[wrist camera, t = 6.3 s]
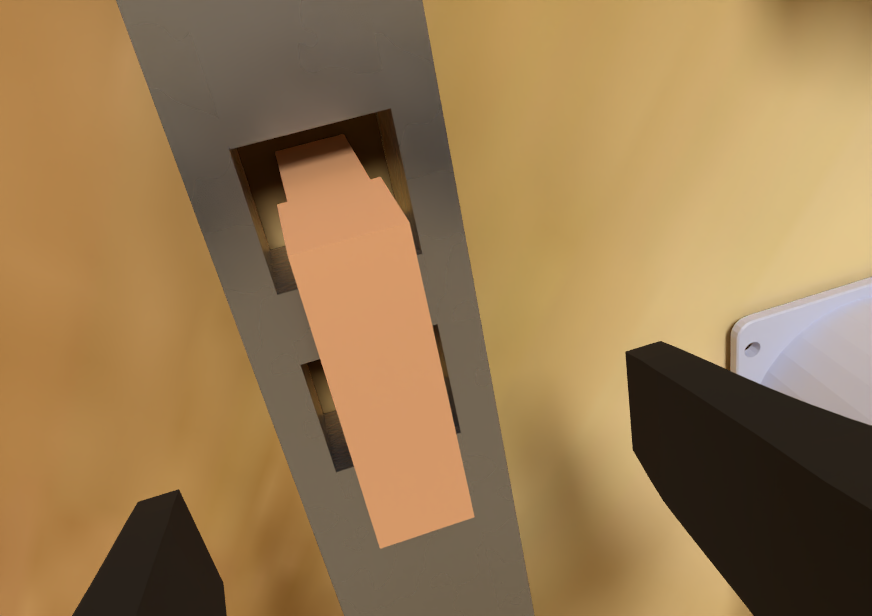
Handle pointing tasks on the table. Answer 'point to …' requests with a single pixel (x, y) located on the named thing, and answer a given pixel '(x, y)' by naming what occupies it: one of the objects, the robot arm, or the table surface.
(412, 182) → the rail
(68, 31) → the table surface
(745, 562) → the robot arm
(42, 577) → the table surface
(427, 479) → the clip
